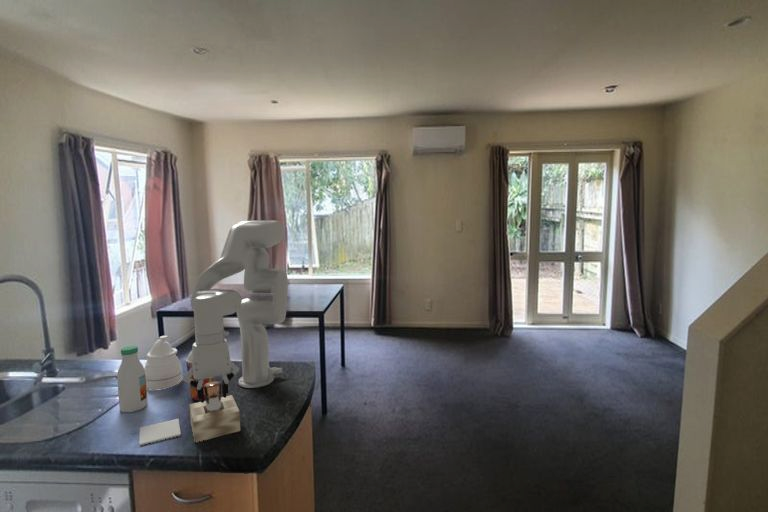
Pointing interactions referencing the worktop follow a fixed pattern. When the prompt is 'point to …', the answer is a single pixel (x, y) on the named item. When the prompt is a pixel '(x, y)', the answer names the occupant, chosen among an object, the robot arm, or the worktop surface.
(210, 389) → the copper capped bottle
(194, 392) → the smoothie
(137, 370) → the milk bottle
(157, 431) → the white square plate
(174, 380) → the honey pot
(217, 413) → the birch eye block
